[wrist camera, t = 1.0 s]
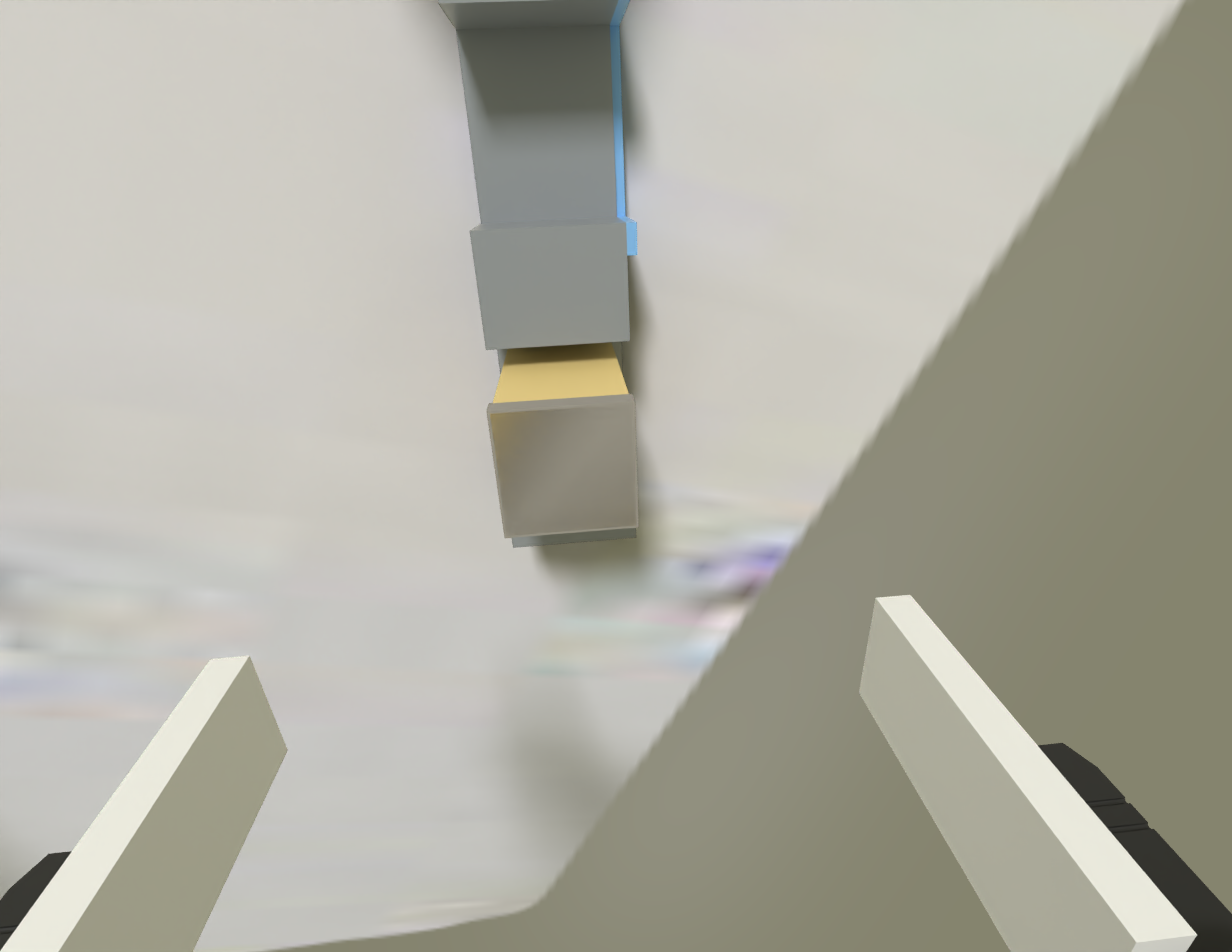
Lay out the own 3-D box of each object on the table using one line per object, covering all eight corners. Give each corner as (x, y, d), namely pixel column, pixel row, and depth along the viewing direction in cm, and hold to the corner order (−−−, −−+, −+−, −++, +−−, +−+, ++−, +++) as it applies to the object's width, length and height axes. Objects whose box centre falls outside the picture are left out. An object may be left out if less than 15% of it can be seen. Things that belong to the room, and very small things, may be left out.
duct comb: (518, 497, 34) (512, 547, 30) (449, -49, 24) (423, -105, 19) (632, 488, 35) (644, 536, 30) (614, -53, 24) (628, -108, 19)
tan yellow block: (517, 446, 32) (504, 538, 24) (505, 346, 29) (486, 411, 21) (617, 439, 32) (638, 527, 24) (613, 340, 30) (634, 400, 22)
